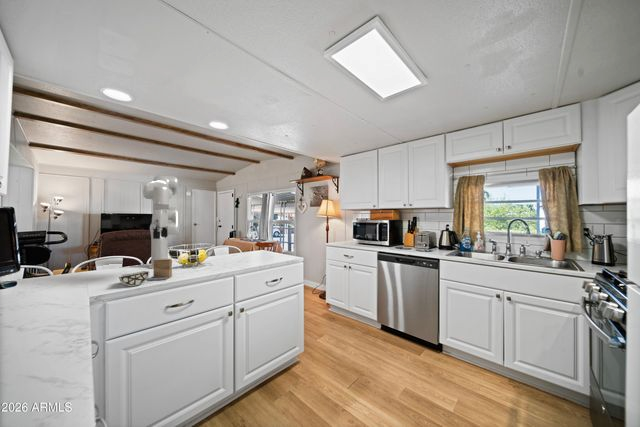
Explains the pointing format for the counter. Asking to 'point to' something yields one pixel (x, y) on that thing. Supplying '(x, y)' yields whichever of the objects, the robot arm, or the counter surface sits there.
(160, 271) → the tan cardboard box
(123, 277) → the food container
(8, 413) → the counter surface
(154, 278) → the mat
